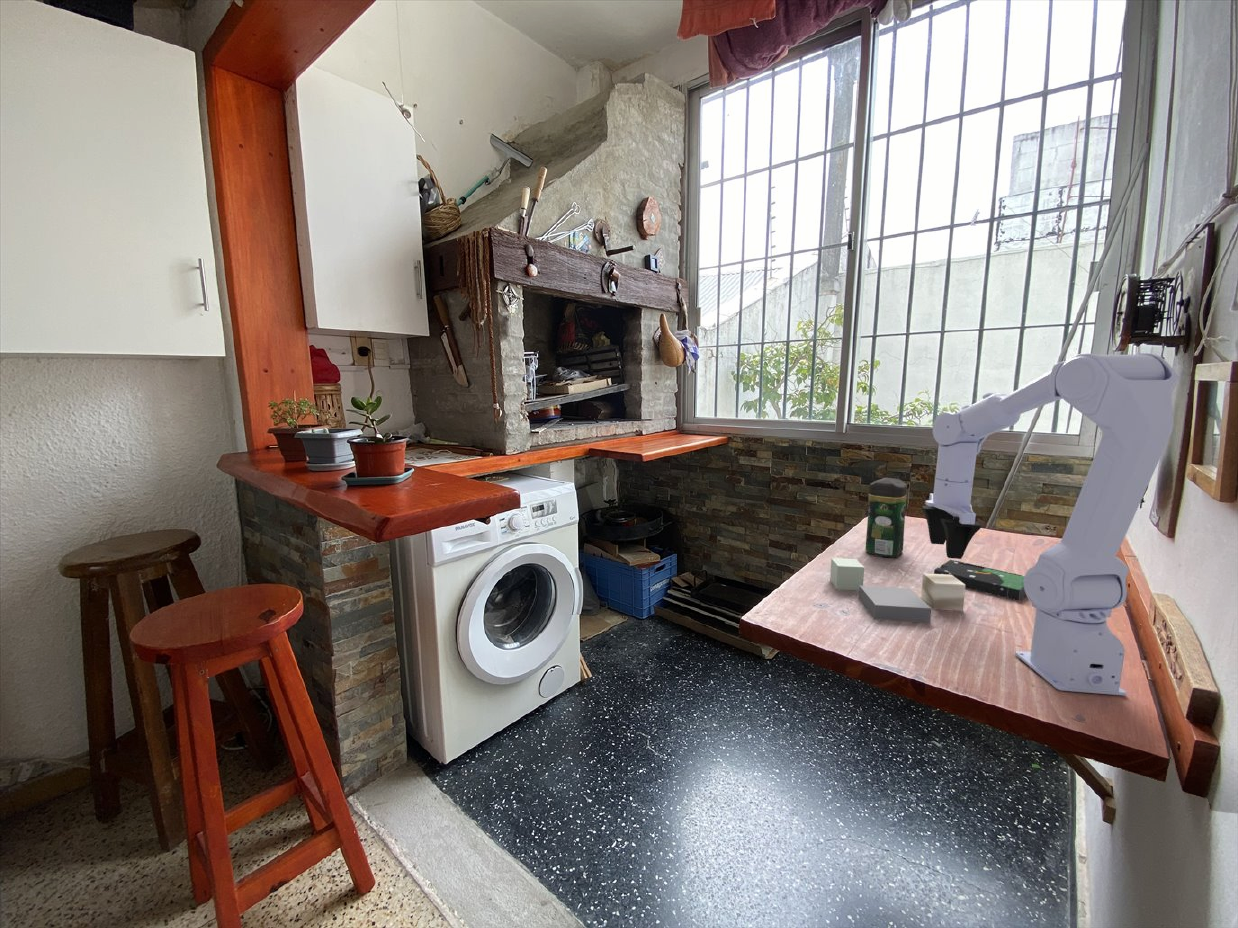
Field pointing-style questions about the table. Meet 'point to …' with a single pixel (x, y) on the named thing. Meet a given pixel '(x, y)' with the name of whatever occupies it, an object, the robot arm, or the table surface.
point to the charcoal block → (894, 604)
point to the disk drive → (985, 579)
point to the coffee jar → (886, 517)
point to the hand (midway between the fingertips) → (945, 550)
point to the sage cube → (846, 573)
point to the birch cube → (943, 591)
